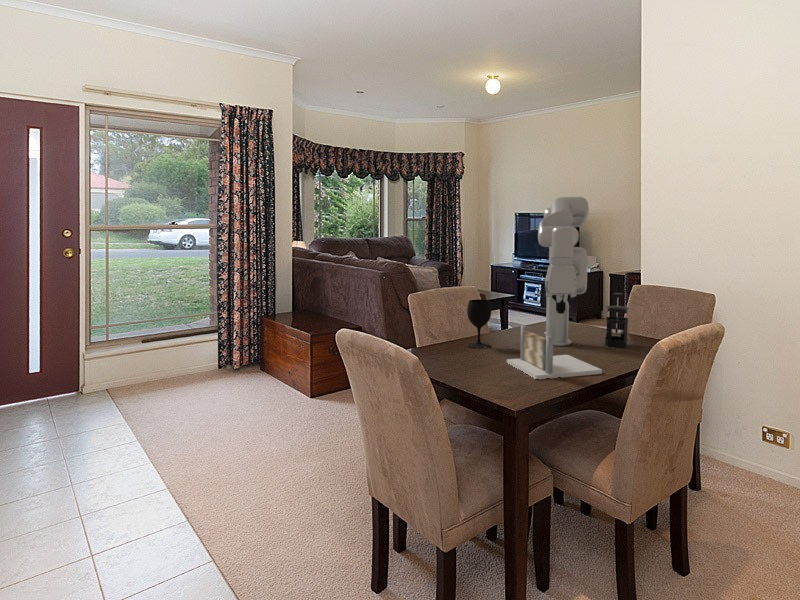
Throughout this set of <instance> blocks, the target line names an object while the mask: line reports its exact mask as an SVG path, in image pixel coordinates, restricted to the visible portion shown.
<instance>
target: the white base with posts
mask: <svg viewBox="0 0 800 600" xmlns="http://www.w3.org/2000/svg"><path fill="white" fill-rule="evenodd" d="M524 331H528V325H521V326H520V356H519V357H520V358H510V359H509V358H508V359H506V364H507V363H508V365H509V364H510V365H509V366H511V365H512V366H513V368H514V367H515V368H514V369H516V368H517V369H516V370H518V369H519V370H521V371H523V372H524V373H523V372H522V373H523V374H525V373H526V374H528V375H529V376H528V375H527V376H528V377H530V376H531V377H530V378H532V377H533V378H534V380H535V379H539V380H547V379H546V378H550V379H559V378H558V377H561V378H569V377H581V376H591V375H602V374H603V369H601V368H600V367H598V366H595V365H592V364H590V363H589V362H585V361H583V360H582V359H579V358H575V357H574V356H572V355H569V354H559V355H554V345H553V336H546V335H545V338H546V366H545V370H543V369H541V368H540V367H538V366H536V365H534V364H532V363H530V362H528V361H526V360H524ZM512 366H511V367H512ZM519 370H518V371H519ZM521 371H520V372H521ZM526 374H525V375H526ZM533 378H532V379H533Z"/></svg>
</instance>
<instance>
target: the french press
mask: <svg viewBox="0 0 800 600" xmlns="http://www.w3.org/2000/svg"><path fill="white" fill-rule="evenodd" d="M612 295H616V299H617V301H616V303H617V304H616V305H608V306H606V309H607V312H612V311H613V312H616V316H607V317H605V322H606V330H605V331H606V335H605V337H604V344H603V345H604V346H605V347H607V346H608V347H607V348H611V347H615V348H614V349H624V348H623V347H626V348H627V347H628V329H629V328H628V325H629V318H628V317H626V316H625V317H622V316H618V315H619V314H623V315H624V314H628V310H629V309H630V308H629V307H628V306H625V305H624V306H623V305H619V298H620V296H623V295H624V293H623V292H614V293H612ZM613 324H615V326H616V327H615V329H614V328H613ZM618 324H620V329H618Z"/></svg>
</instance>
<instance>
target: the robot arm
mask: <svg viewBox="0 0 800 600" xmlns="http://www.w3.org/2000/svg"><path fill="white" fill-rule="evenodd" d="M589 209H590V208H589V203H588V200H587V199H586V197H583V196H563V197H562V196H561V197H557V198H555V199H554V200H553V201H552V202H551V204H550V207H548V208H546V209H544V212H543V218H542V219H541V220H540V222H539V225H538V230H537V240H538V244H539V245H540V246H541V247H544V248H548V249H549V251H548V261H549V265H547V266H548V267H547V272H546V276H545V278H544V286H545V287H544V288H545V297H546V307H545V308H546V309H545V310H546V313H545V315H546V317H545V318H546V320H545V332H543V335H545V337H546V336H553V347H554V346H555V347H558V346H559V347H560V346H561V347H563V346H564V347H565V346H570V345H571V344H572V340H571V339H569V318H570V317H569V310H570V305H569V304H570V303H569V302H568V301H569V300H570V299H573V298H574V297H577V295H582V294H585V293H586V291H587V289H588V262H589V261H588V252H587V250H586V249H585V248H584V247H581V246H576V244H577V243H578V242H579V236H580V234H579V230H577V228H581V227H584V226H585V225H586V223H587V221H588V216H589Z"/></svg>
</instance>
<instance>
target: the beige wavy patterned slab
mask: <svg viewBox="0 0 800 600" xmlns="http://www.w3.org/2000/svg"><path fill="white" fill-rule="evenodd" d="M524 360H526V361H528V362H530V363H532V364H534V365H536V366H538V367H540V368H541V369H543V370H545V366H546V336H542V335H539V334H538V333H537V334H536V333H535V332H532V331H530V330H527V331H524Z"/></svg>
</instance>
